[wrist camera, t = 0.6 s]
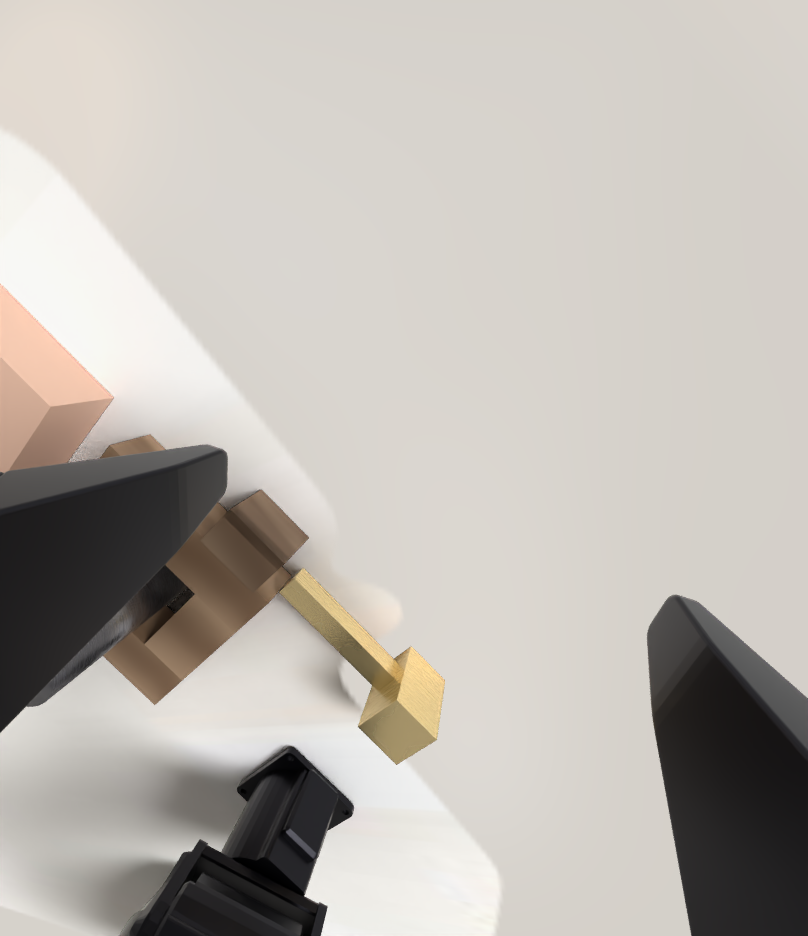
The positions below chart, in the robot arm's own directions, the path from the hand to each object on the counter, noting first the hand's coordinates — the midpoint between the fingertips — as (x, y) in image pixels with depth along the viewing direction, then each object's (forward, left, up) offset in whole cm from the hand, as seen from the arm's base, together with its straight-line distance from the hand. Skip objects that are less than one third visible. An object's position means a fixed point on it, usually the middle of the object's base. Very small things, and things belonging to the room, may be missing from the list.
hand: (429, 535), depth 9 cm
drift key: (-13, -5, -15) cm, 21 cm away
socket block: (-19, +6, -15) cm, 25 cm away
